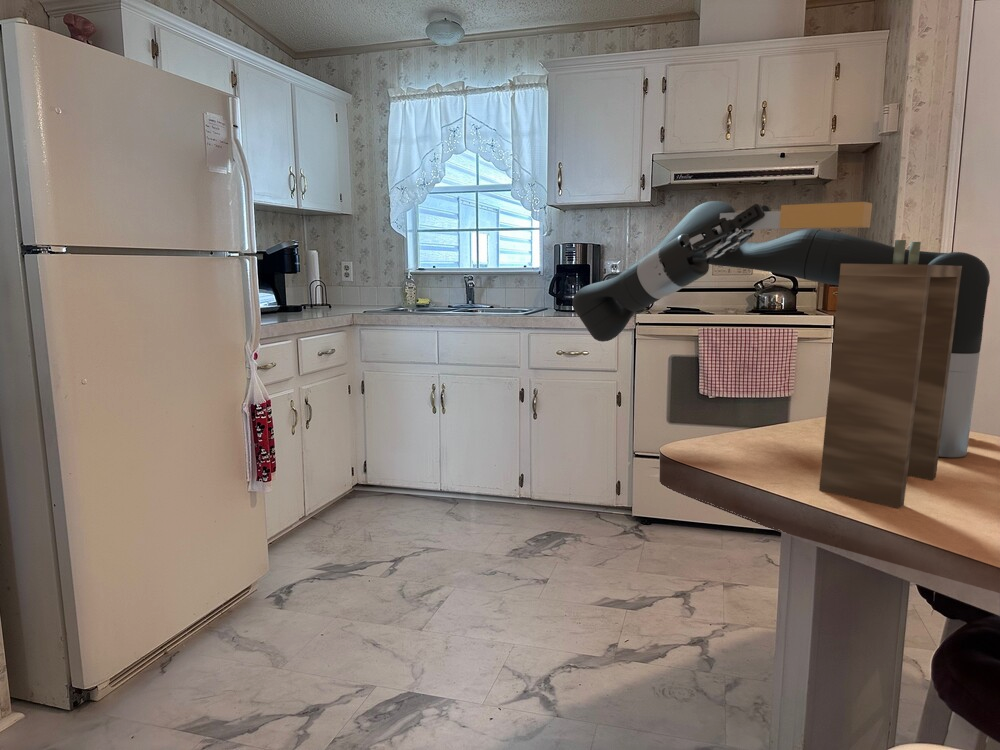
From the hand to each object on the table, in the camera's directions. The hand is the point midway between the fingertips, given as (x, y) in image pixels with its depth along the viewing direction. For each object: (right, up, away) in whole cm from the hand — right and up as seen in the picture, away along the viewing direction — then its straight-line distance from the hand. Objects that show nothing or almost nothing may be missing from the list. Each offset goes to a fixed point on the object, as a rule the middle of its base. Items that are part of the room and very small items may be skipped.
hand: (765, 210), depth 102 cm
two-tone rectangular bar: (+3, -3, -2) cm, 5 cm away
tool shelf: (+15, -40, -3) cm, 43 cm away
